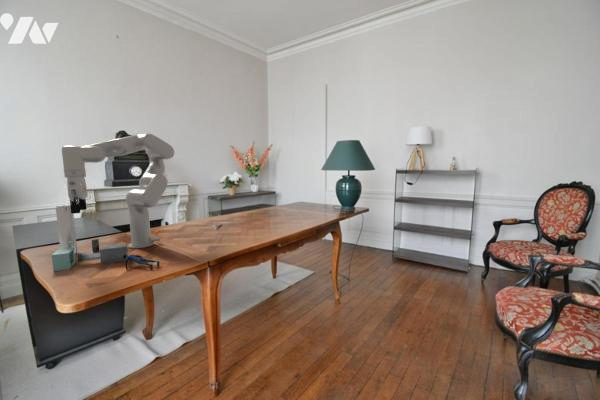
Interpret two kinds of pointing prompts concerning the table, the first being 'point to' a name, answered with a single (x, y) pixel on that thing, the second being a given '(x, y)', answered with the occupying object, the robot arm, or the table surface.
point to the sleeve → (113, 253)
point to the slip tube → (91, 253)
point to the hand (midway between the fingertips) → (79, 211)
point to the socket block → (63, 259)
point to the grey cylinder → (66, 227)
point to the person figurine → (140, 260)
